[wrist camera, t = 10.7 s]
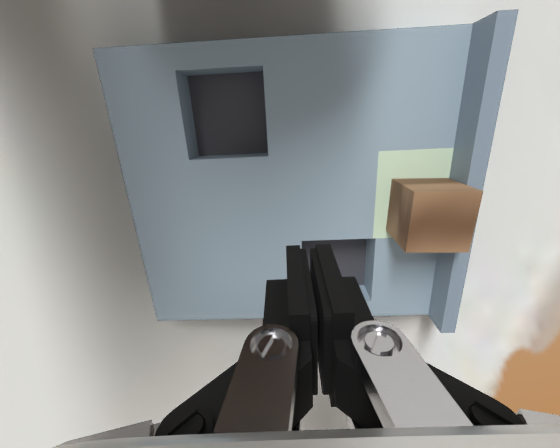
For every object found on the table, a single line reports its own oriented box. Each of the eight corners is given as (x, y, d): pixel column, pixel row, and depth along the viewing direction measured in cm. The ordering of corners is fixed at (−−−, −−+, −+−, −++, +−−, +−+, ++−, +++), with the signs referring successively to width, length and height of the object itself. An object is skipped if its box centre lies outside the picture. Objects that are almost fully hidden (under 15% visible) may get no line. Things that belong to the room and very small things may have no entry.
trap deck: (116, 56, 24) (67, 39, 18) (465, 34, 22) (518, 9, 17) (169, 302, 32) (145, 338, 27) (426, 296, 31) (454, 332, 25)
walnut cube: (391, 178, 23) (414, 191, 19) (447, 178, 23) (483, 191, 19) (385, 229, 25) (405, 252, 21) (438, 229, 25) (469, 252, 21)
